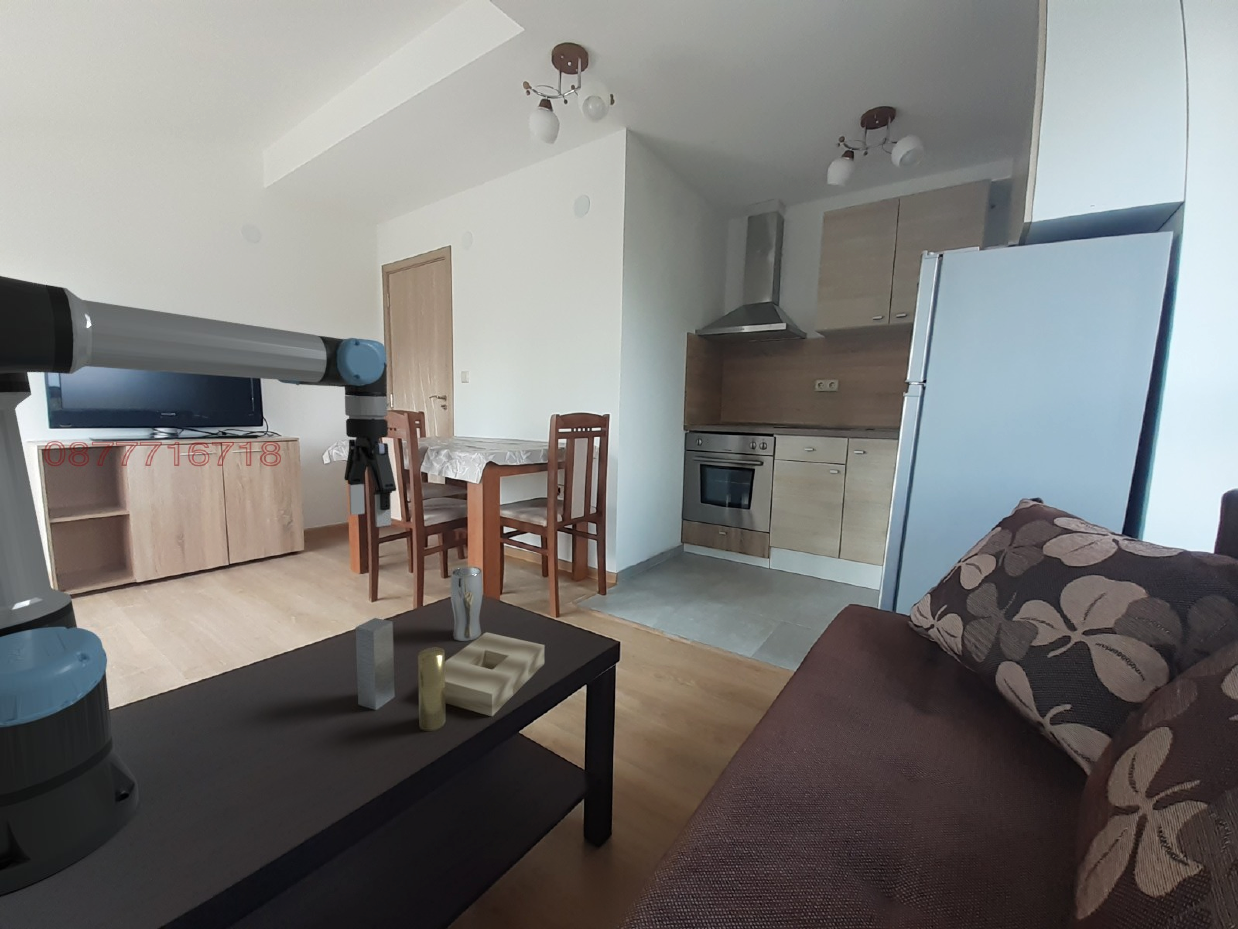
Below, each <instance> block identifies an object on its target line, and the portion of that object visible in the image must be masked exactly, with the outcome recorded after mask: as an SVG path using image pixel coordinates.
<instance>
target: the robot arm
mask: <svg viewBox="0 0 1238 929" xmlns="http://www.w3.org/2000/svg"><path fill="white" fill-rule="evenodd" d="M85 367H90V368H91V367H92V368H104V369H105V368H106V369H120V370H121V369H122V370H132V371H133V370H134V371H135V370H136V371H148V372H150V371H151V372H162V373H163V372H166V373H178V374H194V375H205V376H206V375H208V376H220V377H221V376H222V377H236V378H251V379H262V380H263V379H264V380H265V379H267V380H276V381H279V382H280V383H284V384H291V385H296V386H301V385H302V386H303V385H304V386H317V387H319V386H320V387H338V388H339V387H340V388H344V411H345V412H344V413H345V415H346V416H347V417H348V418H347V419H346V420H345V430H346V432H345V434H346V437H348V438H353V439H349V440H348V454H347V458H346V459H347V460H346V466H345V472H344V481H347V484H348V492H349V496H348V497H349V516H356V515H364V514H365V512H366V511H365V483H366V481H365V479H364V477H365V475H366V474H365V473H366V470H367V468H368V469H369V472H370V475H371V478H372V480H373V482H372V483H374V487H375V490H374V492H373V495H374V507H375V508H374V511H375V512H374V513H375V515H374V516H375V517H374V518H375V527H376V528H380V527H385V526H391V525H392V506H391V505H392V504H391V503H392V501H391V498H392V495H391V494H392V493H393V492H396V491H397V486H396V481H395V477H394V473H393V469H392V464H391V459H390V455H389V445H388V443H387V442H384V443H383V442H381V441H380V439H381V438H386V437H388V435H389V430H388V429H389V427H388V426H389V425H388V420H387V419H386V418H385V417H387V416H388V407H389V406H390V403H389V402H388V399H387V398H388V397H387V396H388V394H387V393H388V392H387V391H388V390H387V389H388V387H387V386H388V385H387V384H388V383H387V367H388V362H387V353H386V347H385V345H384V344H383V343H382V342H380V341H378V340H373V339H363V338H356V337H349V338H339V337H333V336H332V337H331V336H326V335H325V336H323V335H316V334H311V333H306V332H305V333H304V332H297V331H292V330H286V329H285V330H283V329H280V328H271V327H266V326H258V325H252V324H251V325H250V324H246V323H245V324H244V323H239V322H233V321H232V322H231V321H226V320H225V321H224V320H219V319H213V318H205V317H199V316H193V315H186V314H179V313H172V312H165V311H160V310H153V309H145V308H139V307H132V306H124V305H119V304H113V303H107V302H99V301H93V300H87V299H86V300H85V299H82V298H80V297H78V296H77V295H76V294H75V293H73V292H72V291H71V290H69V289H68V288H66V287H63V286H55V285H50V284H43V283H37V282H32V281H28V280H21V279H17V278H12V277H8V276H7V277H6V276H2V275H0V896H2V895H5V894H8V893H11V892H13V891H14V892H15V891H18V890H19V889H22V888H25V887H27V886H30V885H33V884H34V883H37V882H40V881H41V880H43V879H46V878H48V877H50V876H53V875H54V874H56V873H58V872H60V871H62V870H64V869H66V868H67V867H69V866H71V865H73V864H74V863H77V862H78V861H80V860H81V859H83V858H84V857H86V856H87V855H89V854H91V853H92V852H93V851H95V850H97V849H98V848H99V847H101V846H102V845H103V844H104V843H106V842H107V841H109V840H110V839H111V838H113V836H114V835H116V834H117V833H118V832H119V831H120V830H121V829H122V828H123V827H124V826H125V825H126V824H127V823H128V822H129V820H130V819H131V818H132V816H133V815H134V814H135V811H136V810H137V808H138V805H139V801H140V800H139V789H138V788H139V786H138V782H137V779H136V777H135V776H134V774H133V773H132V772H131V770H130V769H129V767H128V766H127V764H126V763H125V762H124V761H123V760H122V758H121V757H120V755H119V754H118V752H117V751H116V750H115V748H114V743H113V733H112V731H113V730H112V720H111V710H110V702H109V693H108V683H107V681H108V680H107V672H106V670H107V668H108V667H107V666H108V665H107V664H108V663H107V662H108V656H107V653H106V651H105V649H104V647H103V642H102V640H101V638H100V637H99V636H98V635H97V634H96V633H95V632H92V631H91V630H88V629H85V628H80V627H78V625H77V621H76V616H75V610H74V606H73V601H72V596H71V595H70V594H68V593H67V592H63V591H61V590H57V589H54V588H52V585H51V580H50V576H49V575H50V574H49V571H48V566H47V561H46V557H45V556H46V554H45V551H44V547H43V541H42V537H41V536H42V534H41V531H40V526H39V521H38V516H37V511H36V507H35V506H36V505H35V501H34V497H33V491H32V486H31V481H30V480H31V479H30V478H29V477H30V476H29V472H28V466H27V461H26V456H25V452H24V447H23V442H22V437H21V432H20V426H19V421H18V417H17V410H16V408H17V406H18V405H20V404H21V403H22V402H23V401H25V400H26V399H28V398H29V397H30V396H32V391H31V386H30V380H29V379H30V378H29V375H28V373H47V374H49V373H50V374H66V375H67V374H68V375H72V374H74V373H76V372H78V371H79V370H81V369H82V368H85ZM354 438H355V439H354Z"/></svg>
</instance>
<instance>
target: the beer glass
mask: <svg viewBox="0 0 1238 929" xmlns="http://www.w3.org/2000/svg"><path fill="white" fill-rule="evenodd" d="M449 591H450V600H451V607H452V611H453V612H452V613H453V617H454V628H453V632H452V633H453V634H452V637H453V639H454V641H455V640H456V641H459V642H470V641H475V640H476V639H478V638H479V637H480V636H482V630H481V624H480V613H481V608H482V602H483V596H484V595H483V594H484V582H483V569H482V568H480V567H477V566H462V567H461V566H460V567H458V568H455V569H453V570H451V573H450V590H449Z"/></svg>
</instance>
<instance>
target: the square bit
mask: <svg viewBox="0 0 1238 929" xmlns="http://www.w3.org/2000/svg"><path fill="white" fill-rule="evenodd" d="M355 650H356V676H357V678H356V680H357V681H356V682H357V699H358V700H357V702H358V703H357V704H358V706H362V707H365V708H368V709H371V710H374V711H377V710H379V709H380V708H381V707H383V706H384V705H386V704H387V703H389V702H390V701H391V700H393V699H394V698H395V696H396V695H395V664H394V662H395V661H394V657H395V656H394V624H393V621H391V620H387V619H382V618H378V617H374V618H372V619H370V620H368V621H366V622H364V623H361V624H359V625H357V626H355Z"/></svg>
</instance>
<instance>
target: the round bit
mask: <svg viewBox="0 0 1238 929" xmlns="http://www.w3.org/2000/svg"><path fill="white" fill-rule="evenodd" d="M445 654H446V651H445V649H444V648H442V647H437V646H434V647H428V648H425V649H423V650H421V651H420V652H418V655H417V669H418V670H417V671H418V672H417V673H418V674H417V675H418V678H417V680H418V720H419V721H418V723H419V724H418V726H419V729H420V730H421V731H425V732H432V731H436V730H439V729H440V728H442V727H443V726H444V725H445V723H446V703H445V661H446V656H445Z"/></svg>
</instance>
